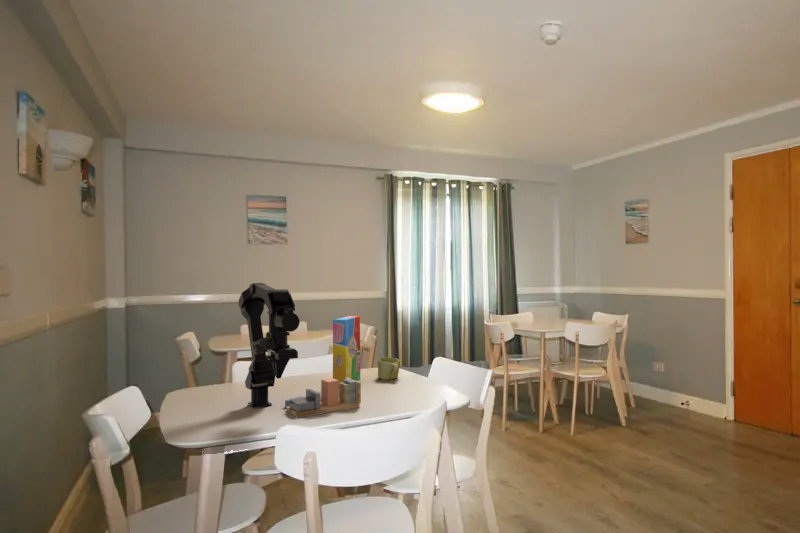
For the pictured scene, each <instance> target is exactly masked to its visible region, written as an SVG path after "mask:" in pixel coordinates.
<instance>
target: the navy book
mask: <svg viewBox="0 0 800 533" xmlns="http://www.w3.org/2000/svg"><path fill="white" fill-rule="evenodd" d="M303 397H304V396H301V395H300V396H296V397H292V398H289V399H284V400H285V401H284V404H285V405H284V407H285V408H286V407H288V406H289V400H290V399H297V398H303Z"/></svg>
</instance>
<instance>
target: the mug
mask: <svg viewBox="0 0 800 533" xmlns="http://www.w3.org/2000/svg"><path fill="white" fill-rule="evenodd" d="M400 365H401V364H400V359H398V358H397V357H395V358H394V357H391V356H384V357H379V358H378V360H377V370H378V371H377V378H378V379H381V380H383V381H384V380H385V381H388V380H389V381H390V380H395V379H397V378H398V377H399V371H400Z"/></svg>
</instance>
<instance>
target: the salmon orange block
mask: <svg viewBox="0 0 800 533" xmlns="http://www.w3.org/2000/svg"><path fill="white" fill-rule="evenodd" d="M320 380H321V382H320V383H321V387H320V388H321V393H320V401H321V403H322V404H324V405H326V406H333V405H339V381H338V380H336V379H333V377H331V378H330V377H329V378H324V379H323V378H321V379H320Z"/></svg>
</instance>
